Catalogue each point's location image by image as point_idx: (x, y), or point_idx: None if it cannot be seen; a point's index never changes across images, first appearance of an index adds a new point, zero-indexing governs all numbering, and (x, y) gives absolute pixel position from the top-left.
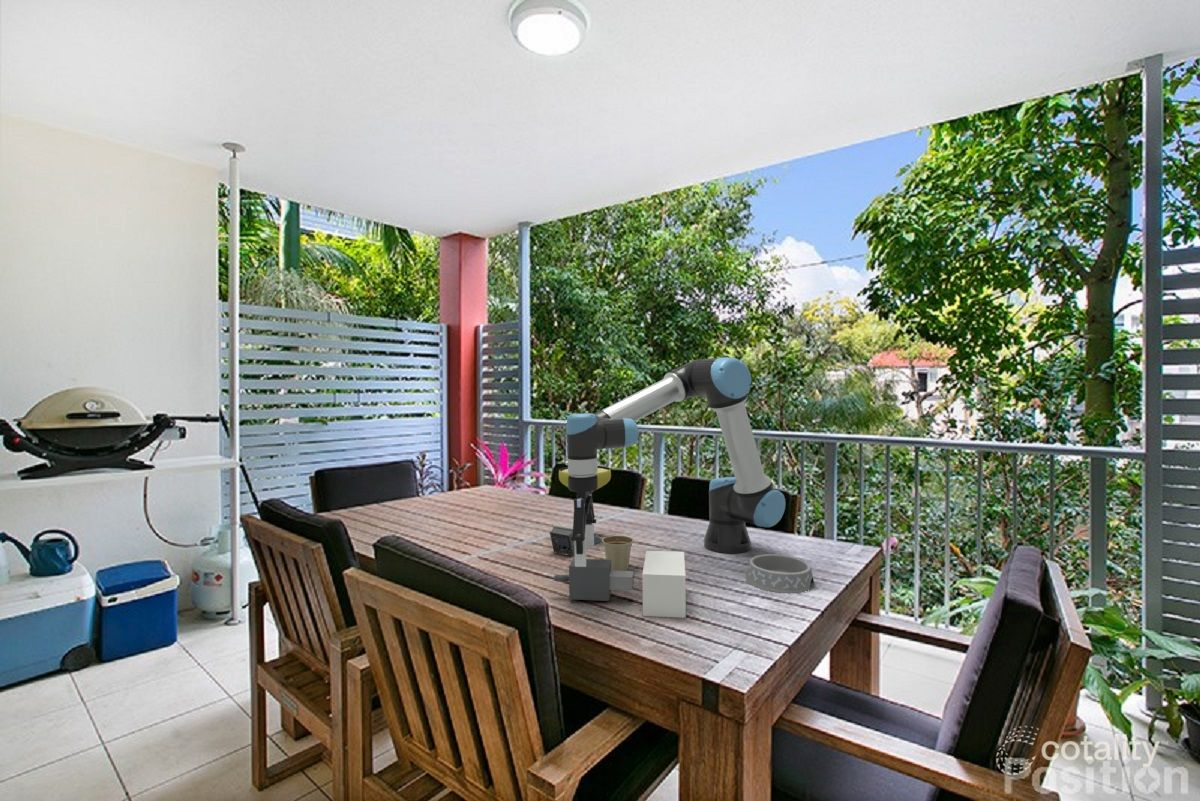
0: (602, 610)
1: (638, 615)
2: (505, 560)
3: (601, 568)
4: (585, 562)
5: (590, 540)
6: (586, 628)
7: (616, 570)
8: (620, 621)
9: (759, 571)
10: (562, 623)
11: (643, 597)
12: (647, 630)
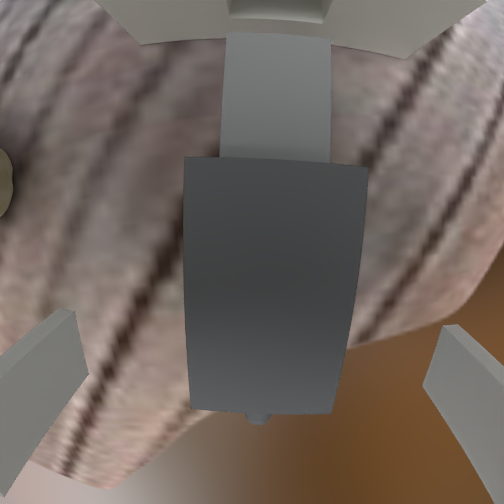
0: (375, 194)
1: (402, 72)
2: (49, 463)
3: (363, 219)
4: (471, 339)
5: (46, 365)
6: (483, 240)
7: (11, 181)
8: (447, 135)
9: None
10: (451, 312)
11: (433, 35)
12: (480, 70)
